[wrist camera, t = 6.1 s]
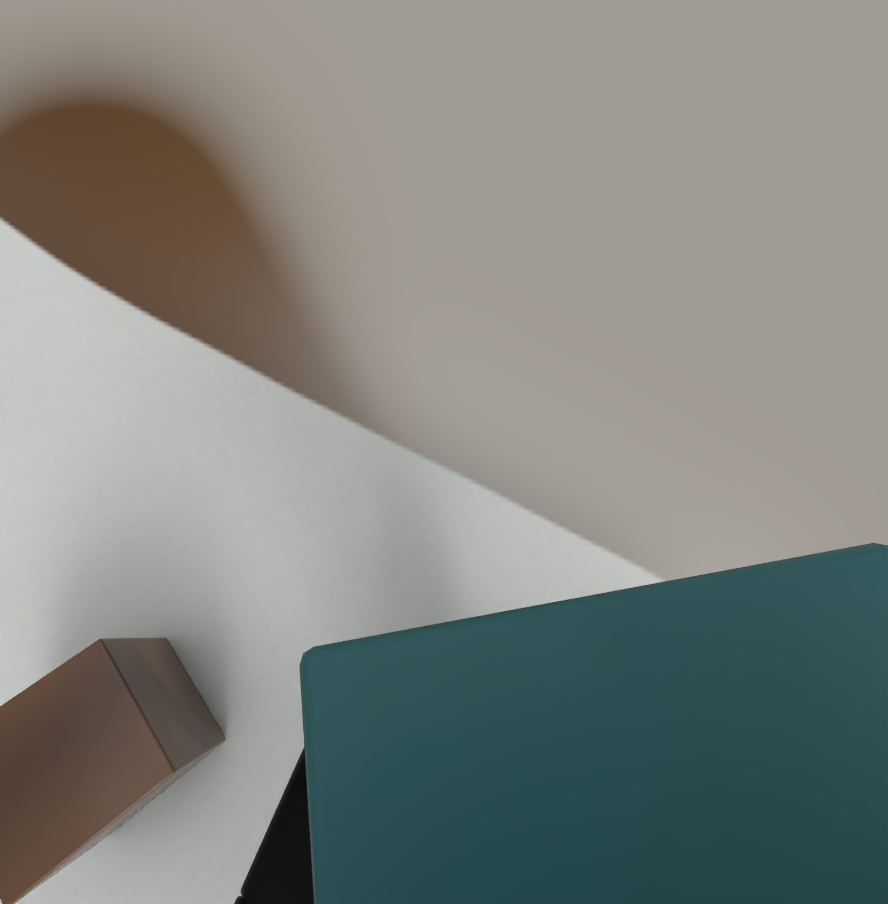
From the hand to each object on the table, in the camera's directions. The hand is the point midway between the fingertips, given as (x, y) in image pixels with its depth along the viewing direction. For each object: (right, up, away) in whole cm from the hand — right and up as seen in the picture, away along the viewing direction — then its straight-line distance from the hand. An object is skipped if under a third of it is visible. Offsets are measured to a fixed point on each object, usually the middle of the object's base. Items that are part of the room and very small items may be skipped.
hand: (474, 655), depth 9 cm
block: (-10, -5, +7) cm, 13 cm away
